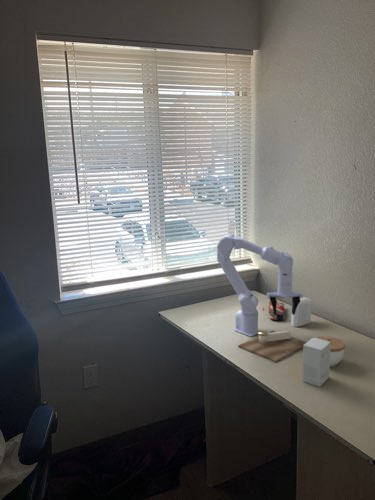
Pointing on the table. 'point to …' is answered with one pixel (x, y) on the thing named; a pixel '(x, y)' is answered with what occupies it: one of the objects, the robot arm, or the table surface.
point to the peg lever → (273, 336)
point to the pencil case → (279, 311)
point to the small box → (316, 361)
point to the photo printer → (302, 313)
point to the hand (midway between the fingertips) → (284, 314)
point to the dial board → (273, 348)
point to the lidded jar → (335, 350)
